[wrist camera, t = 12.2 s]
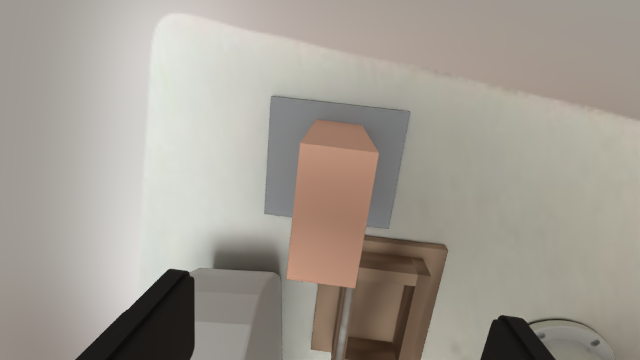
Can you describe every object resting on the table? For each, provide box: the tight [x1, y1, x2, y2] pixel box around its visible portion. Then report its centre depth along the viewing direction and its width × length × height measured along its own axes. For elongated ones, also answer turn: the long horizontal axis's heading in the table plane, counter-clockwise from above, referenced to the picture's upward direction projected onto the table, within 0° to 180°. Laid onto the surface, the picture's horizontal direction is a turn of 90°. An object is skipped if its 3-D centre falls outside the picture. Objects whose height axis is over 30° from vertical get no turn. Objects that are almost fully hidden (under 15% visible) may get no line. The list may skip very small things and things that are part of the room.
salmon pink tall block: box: [286, 119, 379, 288], centre depth 23 cm, size 4×8×12 cm, turn 173°
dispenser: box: [311, 236, 448, 360], centre depth 31 cm, size 12×14×5 cm
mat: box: [264, 96, 410, 229], centre depth 29 cm, size 12×11×1 cm
